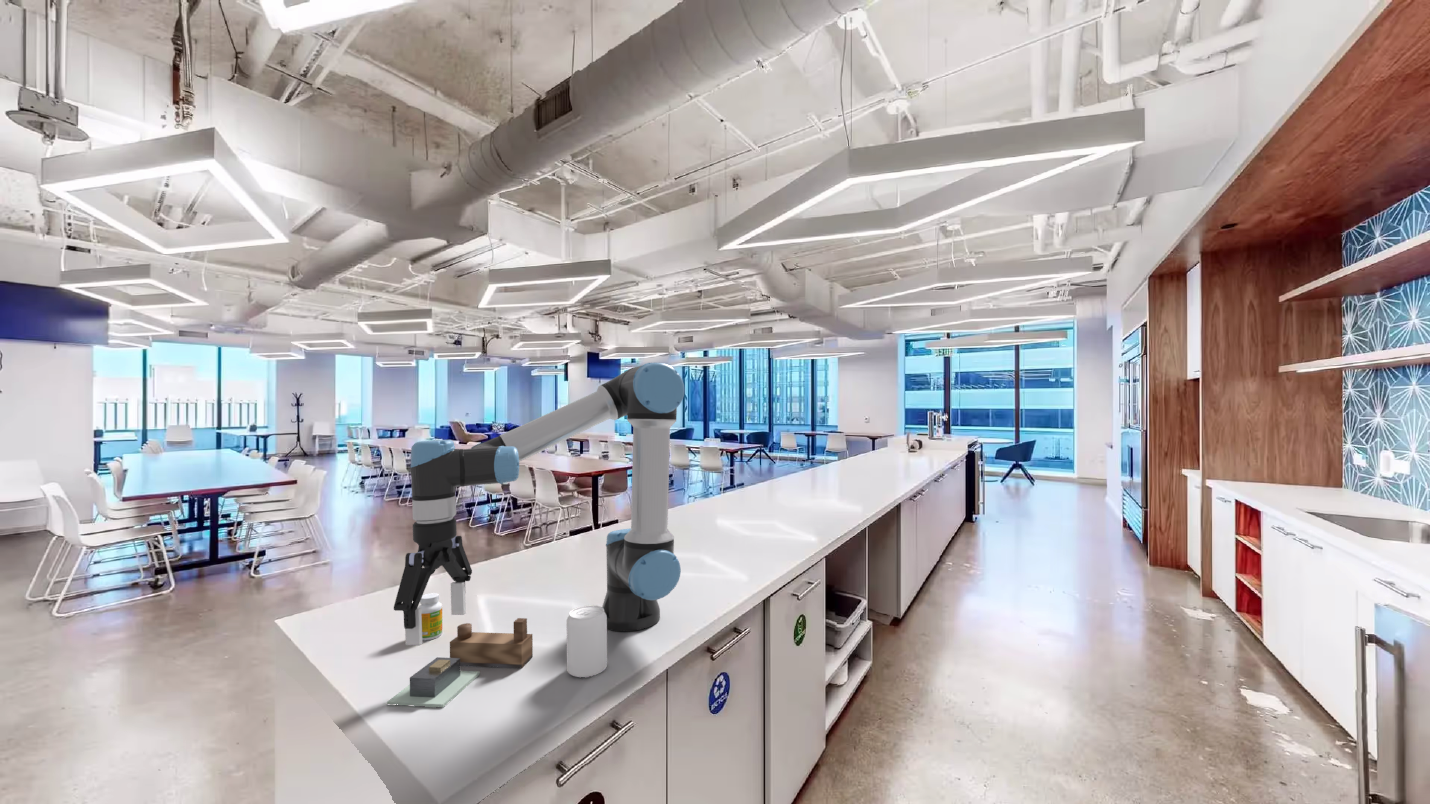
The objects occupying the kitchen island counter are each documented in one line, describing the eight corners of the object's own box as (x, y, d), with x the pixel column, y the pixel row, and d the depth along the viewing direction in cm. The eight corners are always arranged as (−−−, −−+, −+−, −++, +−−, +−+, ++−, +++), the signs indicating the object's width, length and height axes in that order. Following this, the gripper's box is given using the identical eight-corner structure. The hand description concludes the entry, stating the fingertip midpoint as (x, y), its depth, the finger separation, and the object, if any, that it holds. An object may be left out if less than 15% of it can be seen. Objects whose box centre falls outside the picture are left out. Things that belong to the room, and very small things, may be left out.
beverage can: (586, 684, 102) (586, 622, 102) (558, 673, 106) (558, 614, 106) (615, 666, 109) (614, 608, 109) (587, 657, 113) (587, 601, 113)
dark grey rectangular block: (460, 675, 104) (460, 654, 104) (434, 697, 96) (434, 674, 97) (437, 674, 105) (437, 653, 105) (409, 696, 97) (409, 673, 97)
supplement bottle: (431, 642, 122) (431, 600, 122) (411, 640, 123) (411, 599, 123) (447, 632, 127) (447, 592, 127) (428, 630, 128) (428, 591, 128)
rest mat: (479, 674, 106) (479, 671, 106) (443, 707, 94) (443, 704, 94) (429, 672, 107) (429, 669, 107) (386, 705, 95) (386, 701, 95)
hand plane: (532, 657, 113) (532, 615, 113) (521, 668, 108) (521, 625, 108) (463, 654, 115) (463, 613, 115) (449, 665, 110) (449, 623, 110)
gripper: (455, 507, 114) (458, 603, 114) (367, 535, 89) (371, 659, 89) (487, 506, 113) (490, 603, 113) (408, 535, 88) (411, 659, 88)
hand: (437, 628), depth 101 cm, fingers open, 13 cm apart
